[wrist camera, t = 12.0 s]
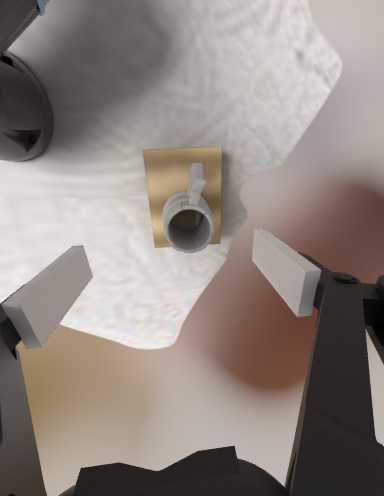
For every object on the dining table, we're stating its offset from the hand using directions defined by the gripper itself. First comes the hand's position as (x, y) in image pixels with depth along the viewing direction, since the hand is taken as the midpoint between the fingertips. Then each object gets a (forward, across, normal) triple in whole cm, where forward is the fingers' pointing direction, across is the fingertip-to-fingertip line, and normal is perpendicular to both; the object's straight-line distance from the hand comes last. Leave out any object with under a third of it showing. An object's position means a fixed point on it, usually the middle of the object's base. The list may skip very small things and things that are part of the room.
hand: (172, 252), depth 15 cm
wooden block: (+25, +2, 0) cm, 25 cm away
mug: (+19, +2, 0) cm, 20 cm away
